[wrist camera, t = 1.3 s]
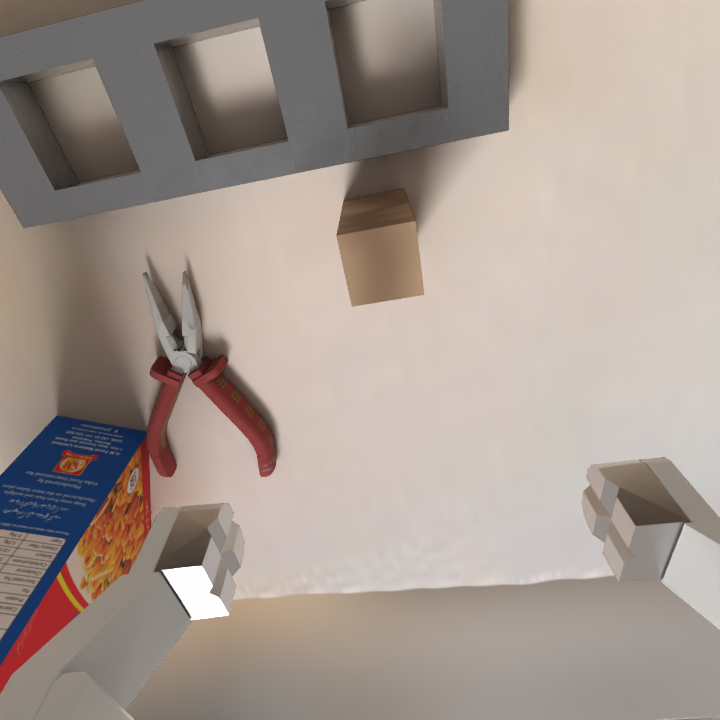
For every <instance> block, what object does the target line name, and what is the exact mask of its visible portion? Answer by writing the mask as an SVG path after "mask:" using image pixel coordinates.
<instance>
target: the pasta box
mask: <svg viewBox="0 0 720 720" xmlns="http://www.w3.org/2000/svg"><path fill="white" fill-rule="evenodd" d="M146 435H147V432H145V431H139V430H134V429H128V428H123V427H117V426H112V425H106V424H101V423H95V422H89V421H84V420H78V419H73V418H67V417H62V416H56V417H55V418H54V419H53V420H52V421H51V422H50V423H49V424H48V426H47V427H46V428H45V429H44V430H43V431H42V432H41V433H40V434H39V435H38V436H37V437H36V438H35V439H34V440H33V441H32V443H31V444H30V445H29V446H28V447H27V448H26V449H25V450H24V451H23V452H22V453H21V454H20V455H19V456H18V457H17V458H16V460H15V461H14V462H13V463H12V464H11V465H10V466H9V467H8V468H7V469H6V470H5V471H4V472H3V473H2V474H1V475H0V694H1V692H2V691H3V689H4V687H5V686H6V684H7V682H8V681H9V679H10V677H11V675H12V674H13V673H14V672H15V671H17V670H18V669H19V668H20V667H21V666H22V665H23V664H24V663H25V662H27V661H28V660H29V659H30V658H31V657H32V656H33V655H34V654H35V653H37V652H38V651H39V650H40V649H41V648H42V647H43V646H44V645H45V644H46V643H48V642H49V641H50V640H51V639H52V638H53V637H54V636H55V635H56V634H58V633H59V632H60V631H61V630H62V629H63V628H64V627H65V626H66V625H68V624H69V623H70V622H71V621H72V620H73V619H74V618H75V617H76V616H77V615H79V614H80V613H81V612H82V611H83V610H84V609H85V608H86V607H87V606H89V605H90V604H91V603H92V602H93V601H94V600H95V599H96V598H97V597H99V596H100V595H101V594H102V593H103V592H104V591H105V590H106V589H107V588H109V587H110V586H111V585H112V584H113V583H114V582H115V581H116V580H117V579H118V578H120V577H121V576H122V575H127V574H129V573H130V571H131V568H132V566H133V564H134V562H135V560H136V558H137V556H138V554H139V552H140V550H141V548H142V545H143V543H144V541H145V539H146V537H147V535H148V533H149V531H150V529H151V504H150V471H149V452H148V449H147V443H146Z"/></svg>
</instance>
